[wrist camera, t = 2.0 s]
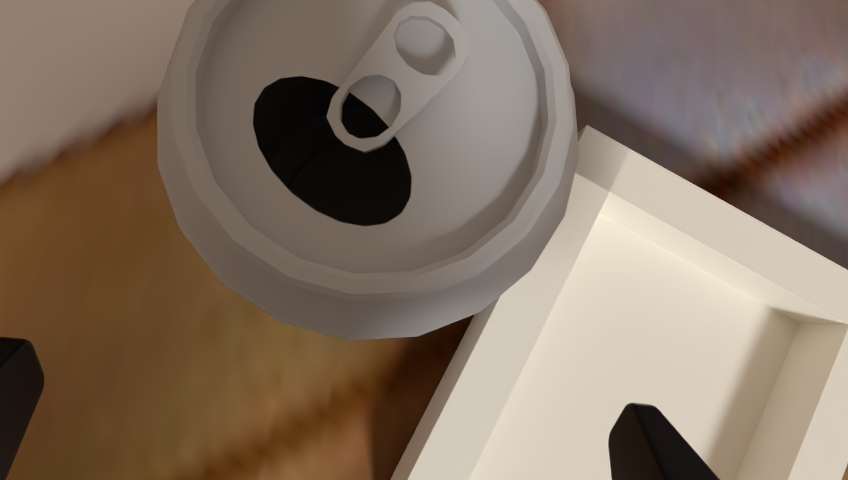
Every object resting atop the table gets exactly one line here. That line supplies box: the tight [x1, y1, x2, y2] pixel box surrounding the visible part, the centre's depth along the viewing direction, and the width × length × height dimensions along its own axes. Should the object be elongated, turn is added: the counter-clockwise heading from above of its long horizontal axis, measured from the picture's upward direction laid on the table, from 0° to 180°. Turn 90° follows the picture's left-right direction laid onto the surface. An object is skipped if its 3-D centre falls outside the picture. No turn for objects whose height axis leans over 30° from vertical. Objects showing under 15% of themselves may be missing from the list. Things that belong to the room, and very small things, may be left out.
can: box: [157, 0, 579, 340], centre depth 15 cm, size 8×8×12 cm
